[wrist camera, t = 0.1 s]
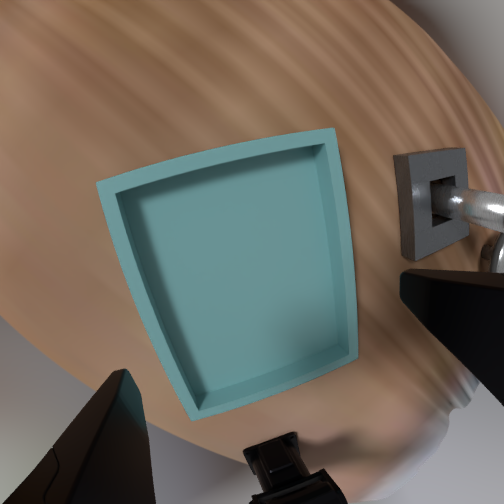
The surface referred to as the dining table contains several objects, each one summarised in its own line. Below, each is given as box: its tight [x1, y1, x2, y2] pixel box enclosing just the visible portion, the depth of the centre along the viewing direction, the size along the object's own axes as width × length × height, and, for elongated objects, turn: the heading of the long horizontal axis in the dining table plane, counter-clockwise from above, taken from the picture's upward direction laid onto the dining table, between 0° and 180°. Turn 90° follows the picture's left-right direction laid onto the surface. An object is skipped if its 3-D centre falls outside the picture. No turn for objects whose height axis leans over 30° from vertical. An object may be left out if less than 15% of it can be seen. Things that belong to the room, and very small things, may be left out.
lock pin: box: [430, 183, 504, 233], centre depth 22 cm, size 4×4×12 cm
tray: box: [96, 128, 358, 421], centre depth 22 cm, size 20×16×3 cm
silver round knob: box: [481, 232, 504, 273], centre depth 31 cm, size 9×9×5 cm
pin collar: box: [393, 148, 469, 261], centre depth 26 cm, size 10×10×2 cm
